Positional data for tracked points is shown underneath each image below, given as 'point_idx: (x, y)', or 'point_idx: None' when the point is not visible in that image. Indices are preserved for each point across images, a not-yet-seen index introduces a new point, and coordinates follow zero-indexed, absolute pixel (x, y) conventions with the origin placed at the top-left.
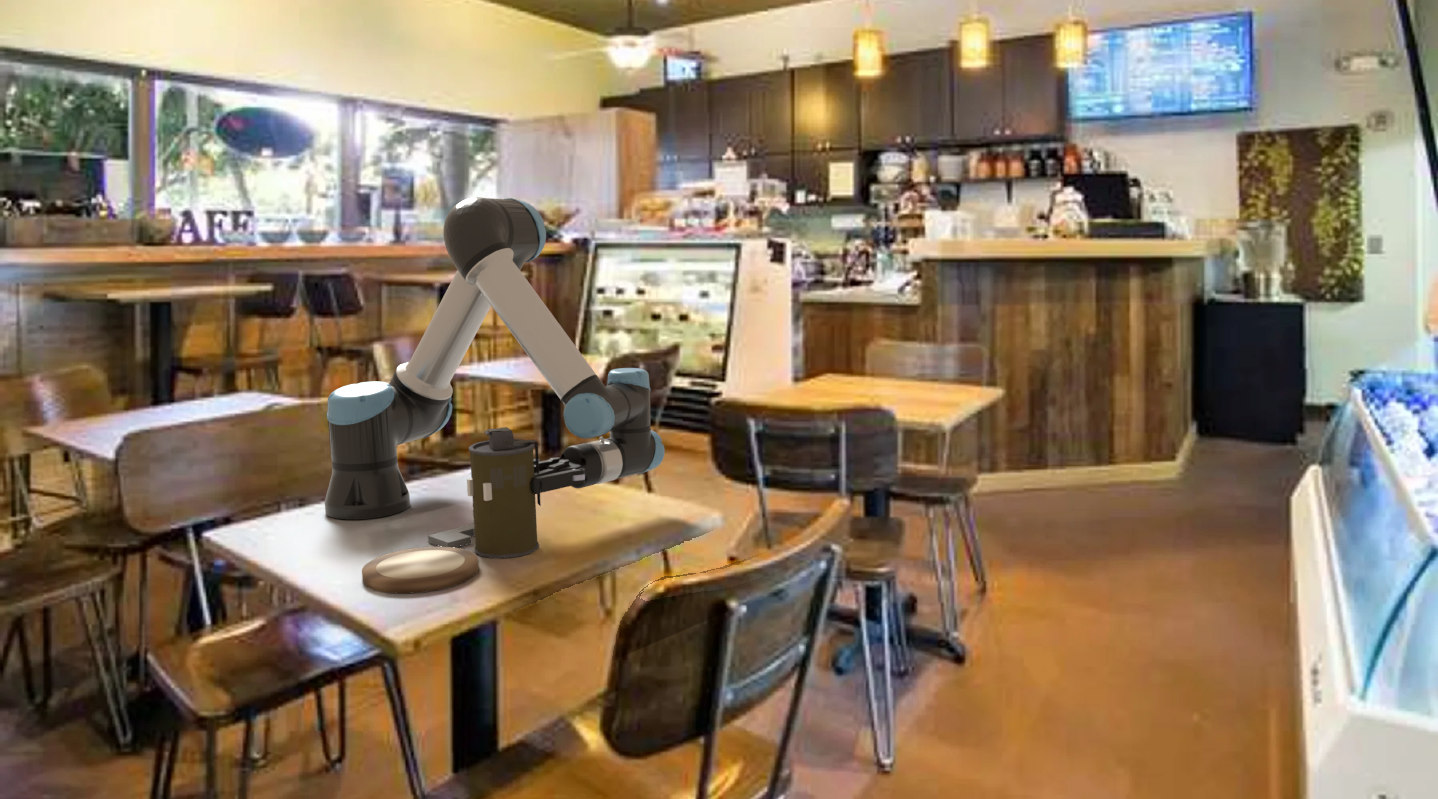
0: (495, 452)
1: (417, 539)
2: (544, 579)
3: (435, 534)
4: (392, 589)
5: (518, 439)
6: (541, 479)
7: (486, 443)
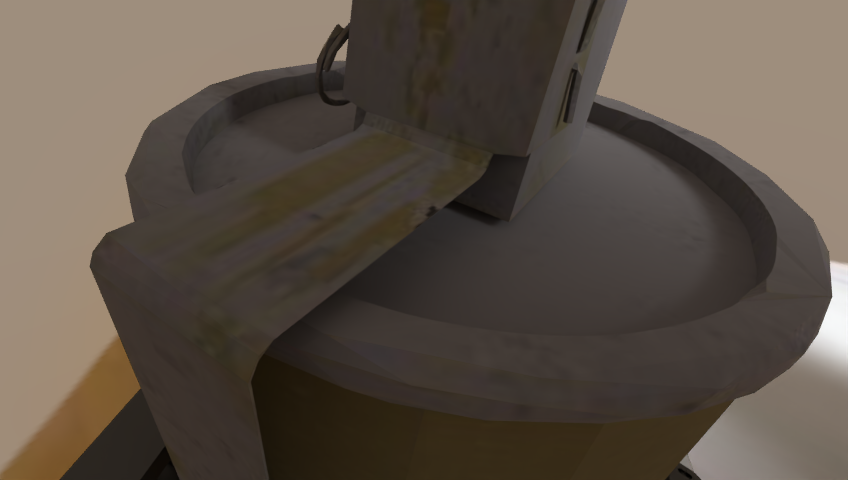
0: (343, 61)
1: (729, 461)
2: (109, 368)
3: (681, 462)
4: None
5: (650, 357)
6: (121, 420)
7: (740, 203)
